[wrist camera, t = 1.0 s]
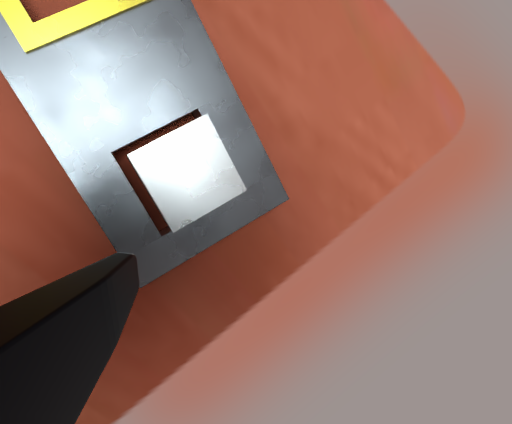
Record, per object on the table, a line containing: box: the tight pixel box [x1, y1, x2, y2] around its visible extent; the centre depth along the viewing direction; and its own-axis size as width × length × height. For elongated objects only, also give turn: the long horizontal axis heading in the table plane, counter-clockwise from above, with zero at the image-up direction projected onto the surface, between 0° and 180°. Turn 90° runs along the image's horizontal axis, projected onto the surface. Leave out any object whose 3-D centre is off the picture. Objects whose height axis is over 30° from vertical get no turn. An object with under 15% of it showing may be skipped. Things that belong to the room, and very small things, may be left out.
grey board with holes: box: [0, 0, 289, 288], centre depth 21 cm, size 10×21×2 cm, turn 29°
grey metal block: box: [127, 114, 247, 233], centre depth 21 cm, size 4×4×6 cm
